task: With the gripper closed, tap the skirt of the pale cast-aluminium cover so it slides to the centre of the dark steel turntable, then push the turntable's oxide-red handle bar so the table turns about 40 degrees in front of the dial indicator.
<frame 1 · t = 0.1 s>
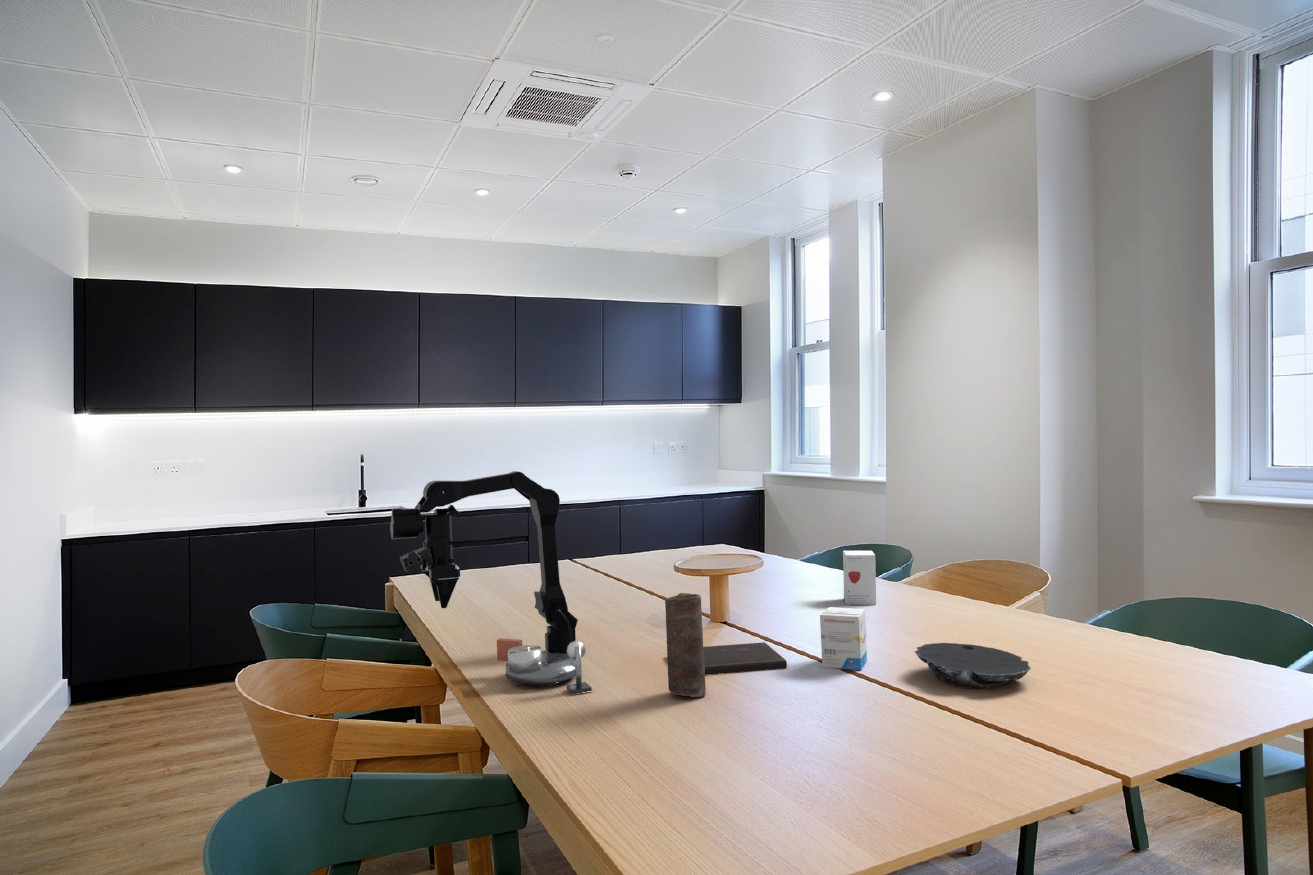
hand: (440, 604, 180), 15 cm above the table, fingers open, 9 cm apart
cover: (525, 668, 167), point 3 cm above the table, touching turntable
turntable: (542, 657, 171), point 5 cm above the table, hinge at 0.0°, touching cover
dark grey flat disc: (972, 679, 163), on the table
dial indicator: (579, 691, 161), on the table
hardcover book: (726, 665, 179), on the table
ink box: (844, 664, 175), on the table
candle: (686, 696, 157), on the table
turntable base: (543, 678, 171), on the table
supplement box: (860, 602, 239), on the table
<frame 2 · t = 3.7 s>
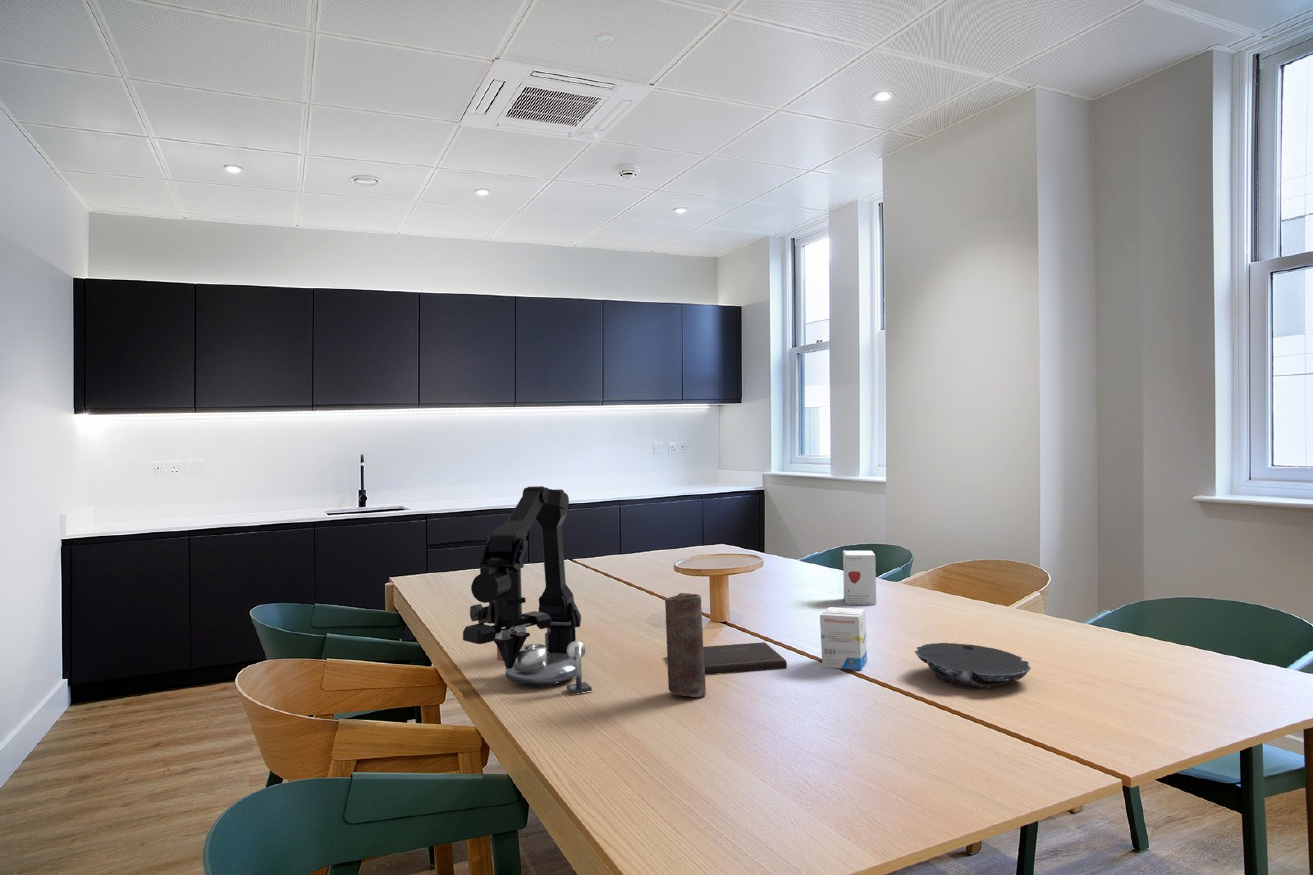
hand: (509, 668, 164), 4 cm above the table, fingers closed
cover: (530, 667, 168), point 3 cm above the table, touching gripper, turntable
everything else where it was.
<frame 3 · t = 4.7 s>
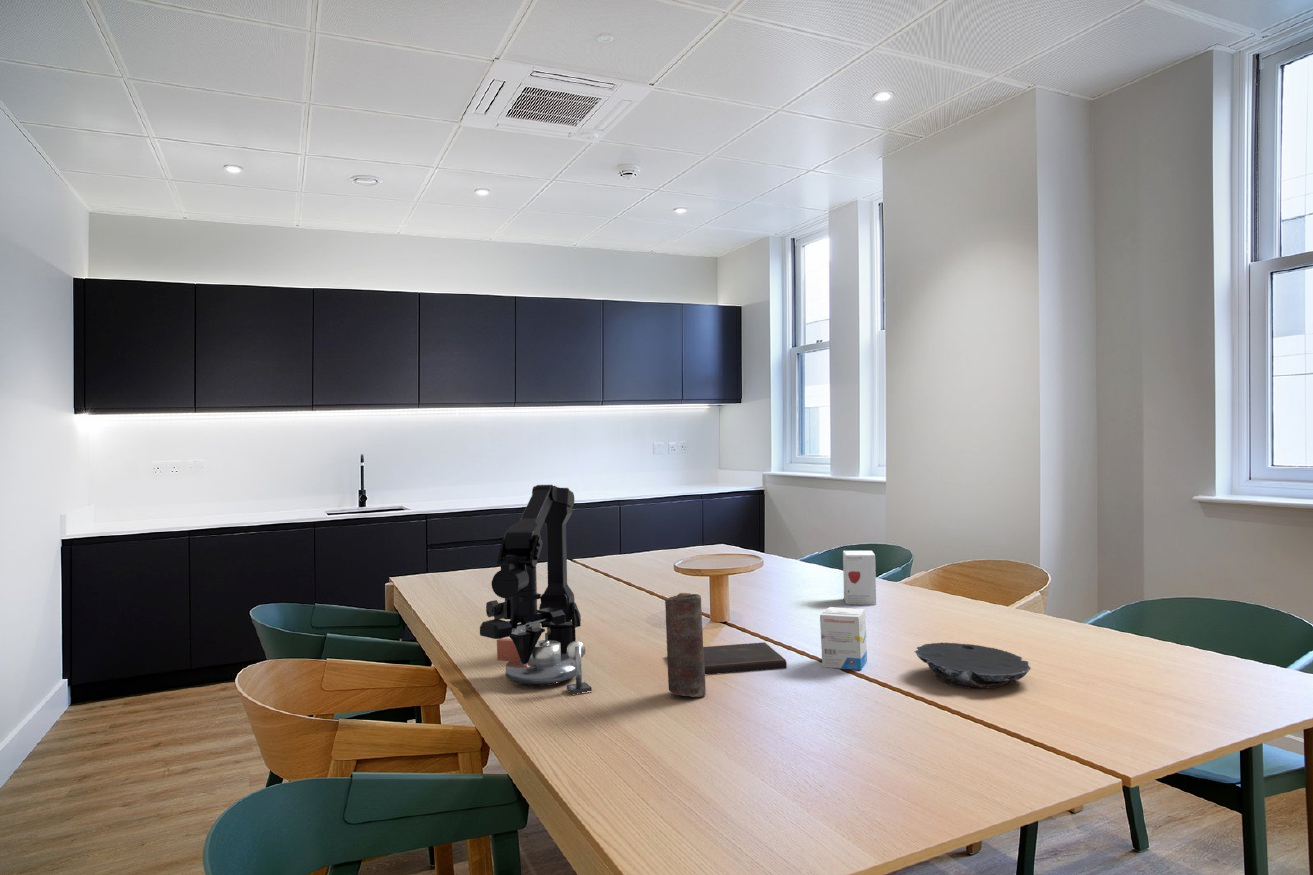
hand: (524, 663, 167), 4 cm above the table, fingers closed
cover: (544, 663, 171), point 3 cm above the table, touching gripper
turntable: (542, 657, 171), point 5 cm above the table, hinge at 0.0°
everything else where it was.
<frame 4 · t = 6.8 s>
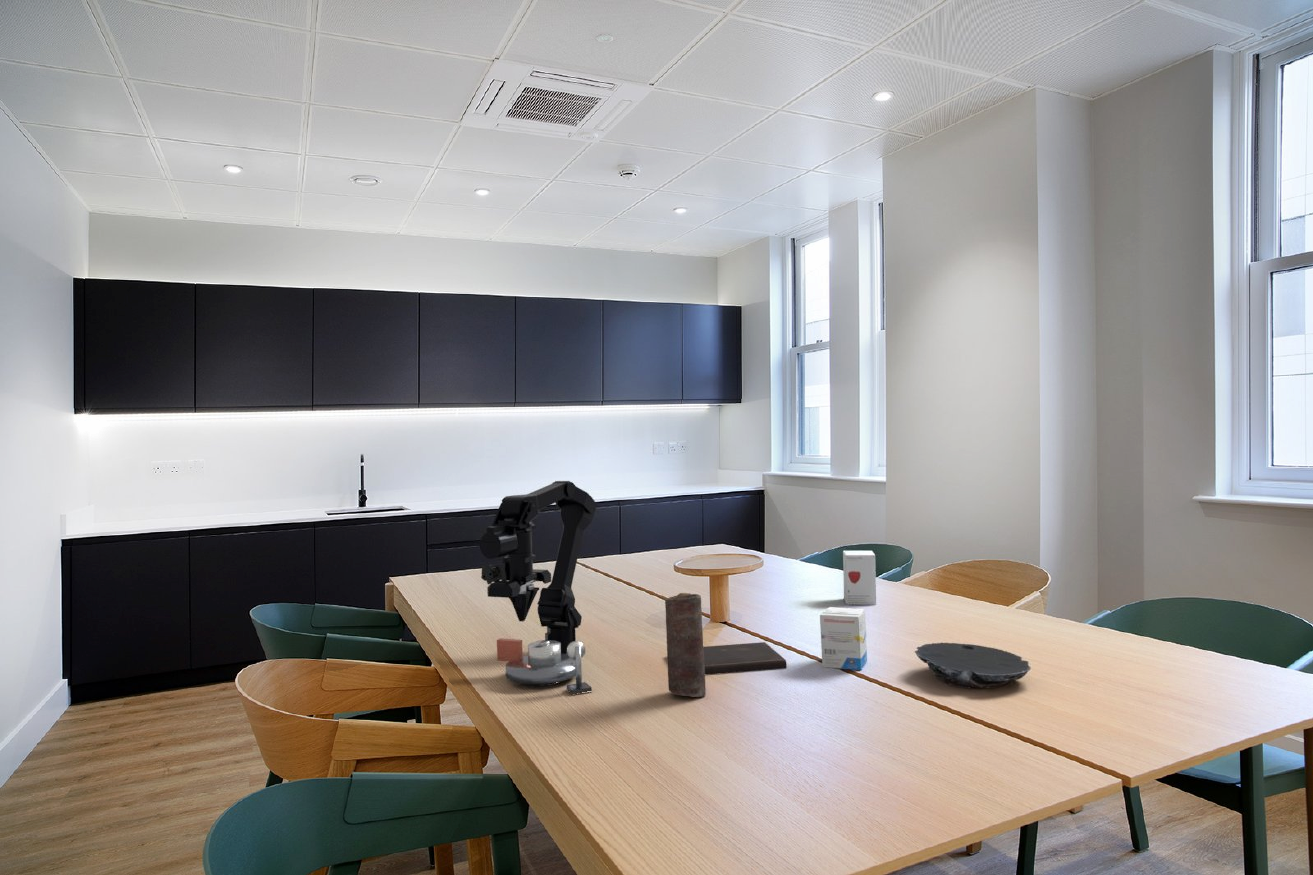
hand: (521, 621, 178), 11 cm above the table, fingers closed
cover: (544, 662, 171), point 3 cm above the table, touching turntable
turntable: (542, 657, 171), point 5 cm above the table, hinge at 0.0°, touching cover
everything else where it was.
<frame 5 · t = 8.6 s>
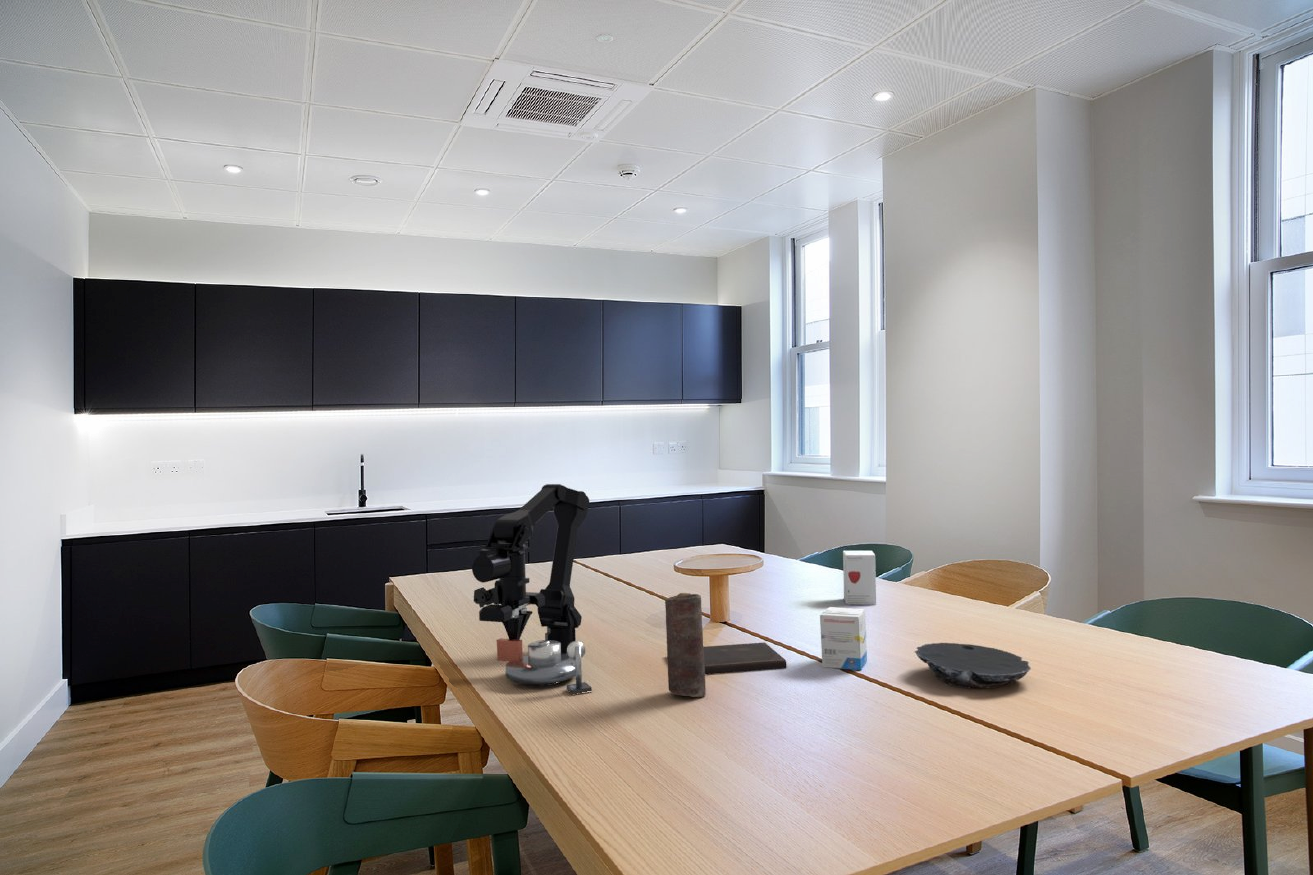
hand: (514, 645, 175), 6 cm above the table, fingers closed
turntable: (542, 657, 171), point 5 cm above the table, hinge at 0.0°, touching cover, gripper
everything else where it was.
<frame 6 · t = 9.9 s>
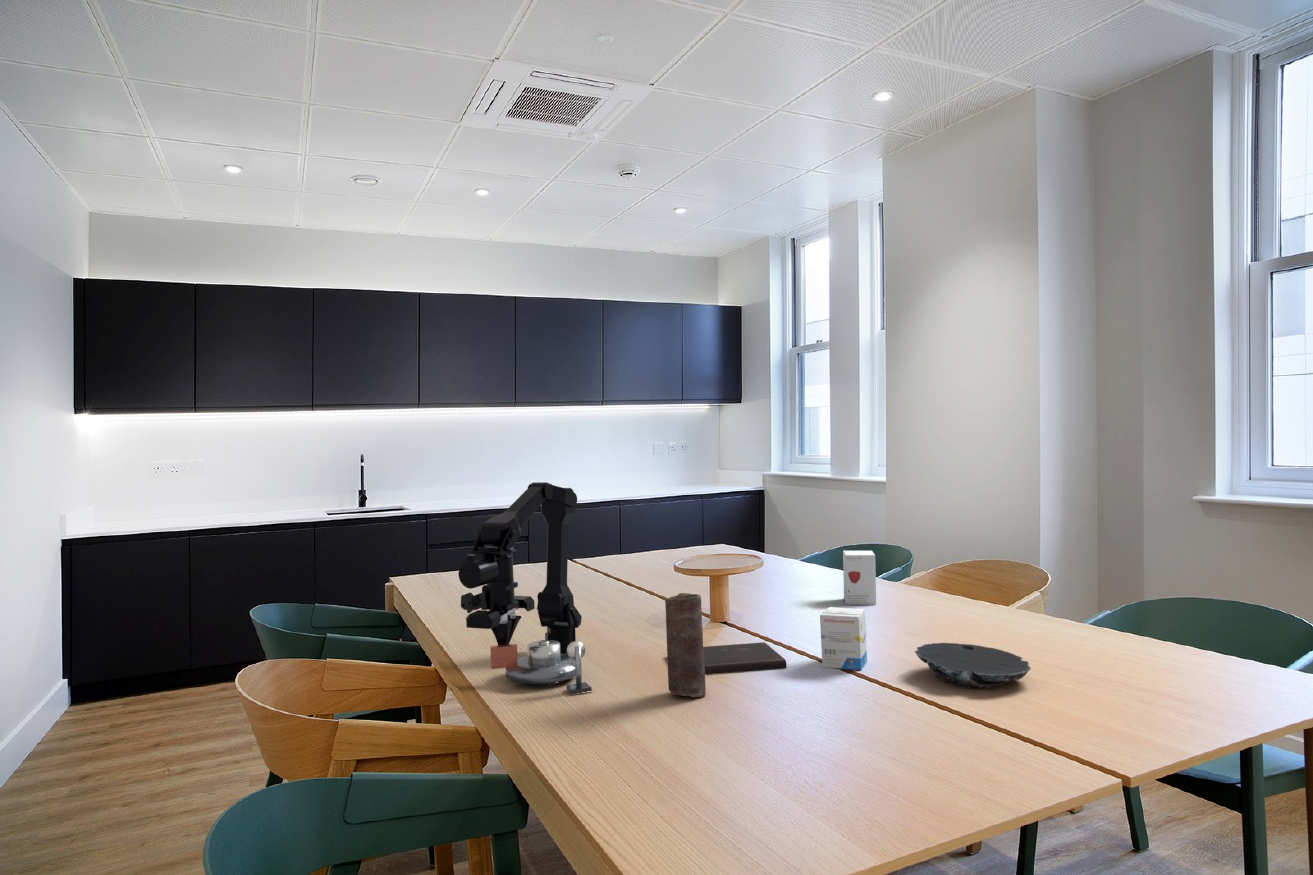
hand: (503, 651, 171), 6 cm above the table, fingers closed
turntable: (542, 657, 171), point 5 cm above the table, hinge at 35.1°, touching cover, gripper
everything else where it was.
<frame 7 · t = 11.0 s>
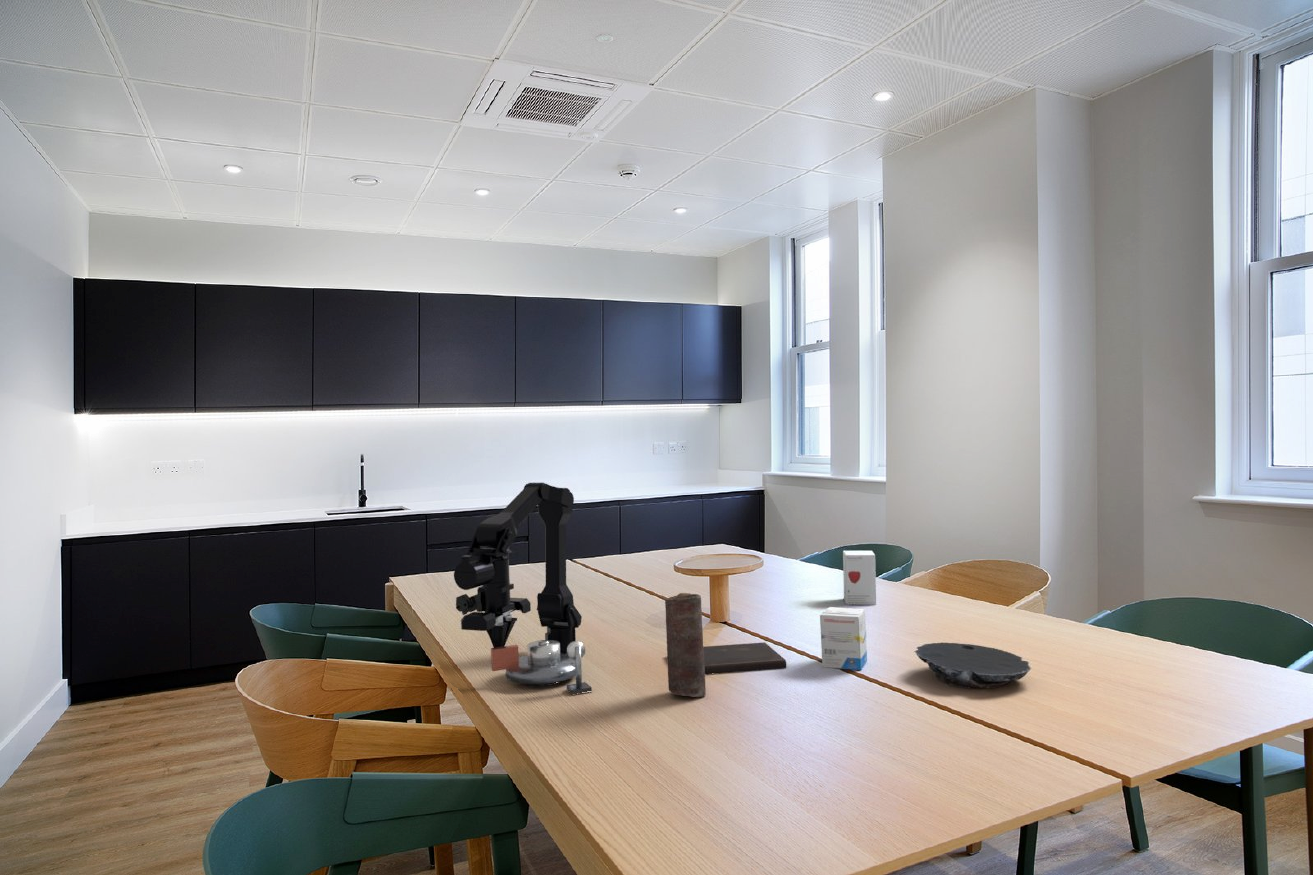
hand: (498, 653, 169), 6 cm above the table, fingers closed
turntable: (542, 657, 171), point 5 cm above the table, hinge at 43.8°, touching cover, gripper
everything else where it was.
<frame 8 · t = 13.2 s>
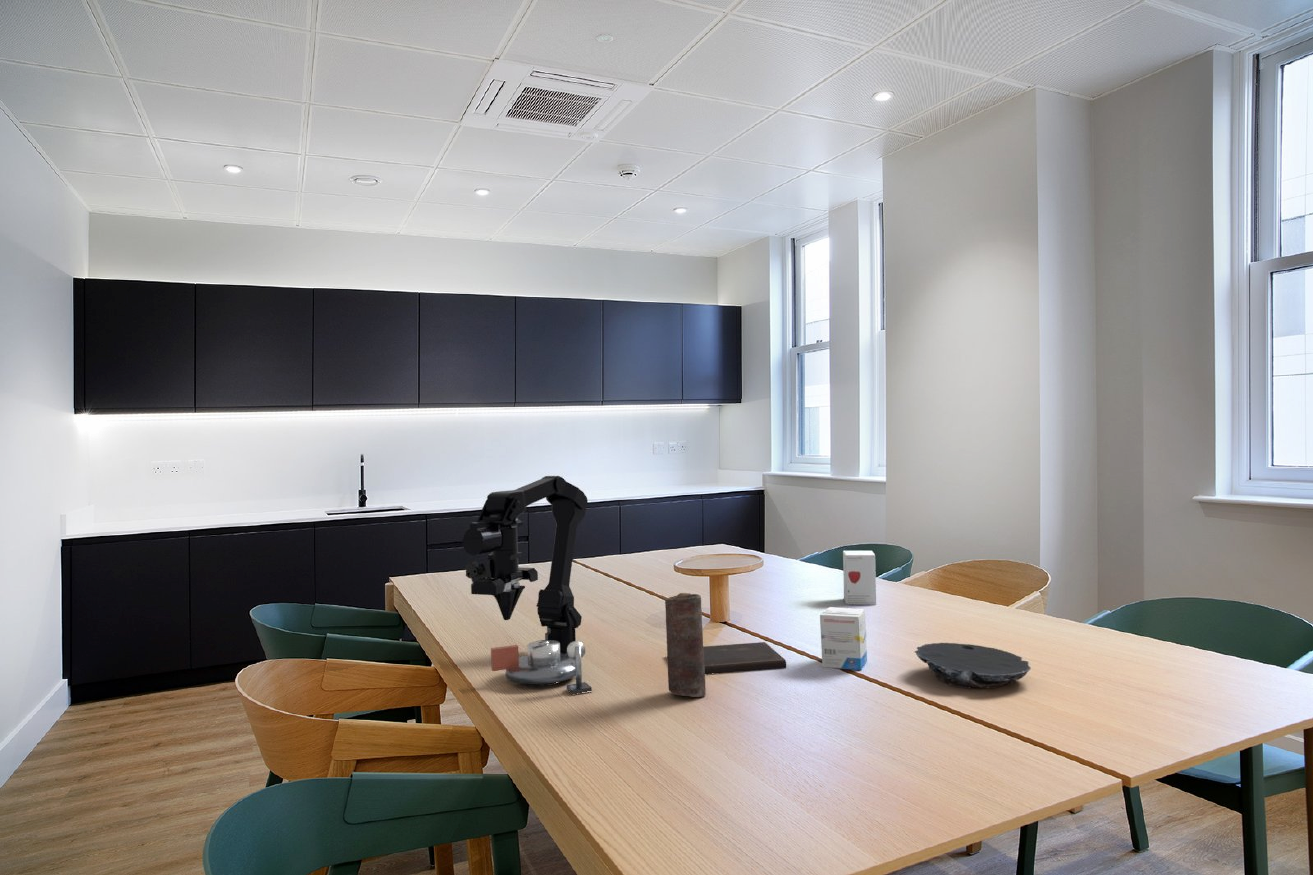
hand: (506, 619, 175), 12 cm above the table, fingers closed
turntable: (542, 657, 171), point 5 cm above the table, hinge at 43.9°, touching cover
everything else where it was.
at the end: cover 0.3 cm from the turntable (horizontally); turntable at +44° (first picture: +0°); cover tilted 0° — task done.
